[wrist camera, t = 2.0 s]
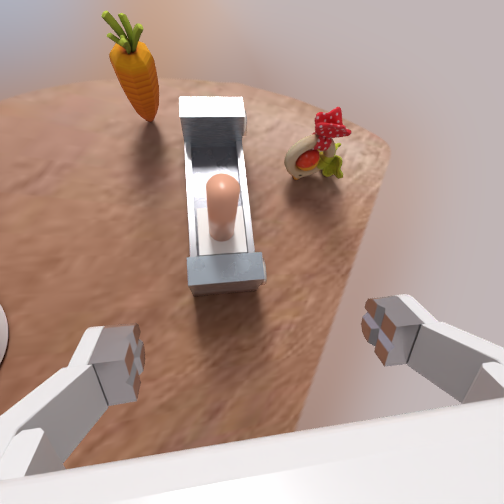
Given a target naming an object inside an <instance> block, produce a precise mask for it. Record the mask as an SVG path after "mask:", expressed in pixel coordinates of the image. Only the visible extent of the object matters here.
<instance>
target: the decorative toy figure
mask: <svg viewBox="0 0 504 504" xmlns="http://www.w3.org/2000/svg"><path fill="white" fill-rule="evenodd" d="M315 125H316V126H315V132H314V133H313V134H312V135H309V136H307V137H305V138H303V139H301V140H300V141H298V142H297V143H295V144H294V145H293V146H292V147H291V148H290V149H289V151H288V152H287V154H286V156H285V161H284V163H285V167H286V169H287V171H288V172H289V174H291V175H292V176H293V178H294V179H295V180H297V179H299V178H301V177H305V176H309V175H312V174H314V173H316V172H318V171H320V170H322V169H323V170H322V173H323V175H324V176H326V177H329V176H331V175H333V174H334V175H335V176H336V177H337V178H338V179H339V178H343V173H342V171H341V169H340V168H341V166H342V158H341V157H339V156H336V155H335V153H336V150H337V148H338V147H340V146H341V143H337V144H335V143H334V141H333V139H332V138H335V137H343V136H349V135H350V134H351V130H349V129H346V127H345V126H344V125H343V124H342V113H341V108H340V107H337V108H335V109H333V110H332V111H330V112H329V113H323V112H319V113H317V114H316V117H315Z"/></svg>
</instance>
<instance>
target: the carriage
mask: <svg viewBox="0 0 504 504" xmlns="http://www.w3.org/2000/svg"><path fill="white" fill-rule="evenodd" d="M239 194H240V185H239V183H238V181H237V180H236V179H235V178H234V177H233V176H231V175H229V174H225V173H219V174H216V175H213V176H212V177H211V178H210V179H209V180H208V181H207V184H206V198H207V208H197V222H198V239H199V255H200V256H214V255H228V254H241V253H247V246H246V237H245V227H244V218H243V209H242V206H238V201H239Z"/></svg>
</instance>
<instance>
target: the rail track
mask: <svg viewBox="0 0 504 504" xmlns="http://www.w3.org/2000/svg"><path fill="white" fill-rule="evenodd" d="M179 104H180V119H181V125H182V131H183V137H184V145H185V164H186V184H187V203H188V222H189V242H190V257H187V270H188V286H189V288H190V290H191V292H192V294H193V296H203V295H214V294H225V293H236V292H247V291H256V290H257V289H258V287H259V286H260V285H265V284H266V266H265V261H264V259H263V258H262V252H255V250H254V241H253V233H252V224H251V216H250V207H249V199H248V190H247V182H246V173H245V165H244V156H243V148H242V136H246V133H247V116H246V111H245V110H244V106H243V98H242V97H179ZM219 173H225V174H229V175H231V176H233V177H234V178H235V179H236V180H237V181H238V183H239V185H240V194H239V201H238V206H242V209H243V218H244V227H245V237H246V246H247V253H241V254H228V255H214V256H200V255H199V239H198V222H197V208H207V198H206V184H207V181H208V180H209V179H210V178H211V177H212V176H213V175H216V174H219Z"/></svg>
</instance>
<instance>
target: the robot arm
mask: <svg viewBox="0 0 504 504" xmlns="http://www.w3.org/2000/svg"><path fill="white" fill-rule="evenodd" d="M365 309H366V310H367V313H366V314H365V315H364V316H363V318H362V323H361V325H362V332H363V334H364V337H365V339H366V340H367V342H368V343H370V344H372V345H374V346H375V353H376V355H377V356H378V358H379V359H380V360H381V362H382V363H383V365H384V366H392V365H402V364H407V365H408V366H409V367H411V368H412V369H413V370H415V371H416V372H418V373H419V374H421V375H422V376H424V377H425V378H427V379H428V380H429V381H431V382H432V383H434V384H435V385H436V386H438V387H439V388H441V389H442V390H444V391H445V392H446V393H448V394H449V395H451V396H452V397H454V398H455V399H456V400H458V401H459V402H461V404H460V405H454V406H448V407H442V408H436V409H429V410H423V411H418V412H412V413H405V414H399V415H394V416H387V417H382V418H375V419H370V420H364V421H358V422H352V423H346V424H340V425H333V426H328V427H321V428H315V429H309V430H303V431H297V432H291V433H285V434H279V435H273V436H266V437H260V438H254V439H248V440H242V441H236V442H230V443H224V444H218V445H212V446H206V447H200V448H194V449H188V450H182V451H175V452H169V453H163V454H157V455H151V456H145V457H139V458H133V459H127V460H121V461H115V462H109V463H103V464H97V465H91V466H85V467H79V468H73V469H67V470H66V469H65V467H64V465H63V463H64V462H65V460H66V459H67V458H68V457H69V455H70V454H71V453H72V452H73V450H74V449H75V448H76V447H77V446H78V444H79V443H80V442H81V441H82V439H83V438H84V437H85V436H86V434H87V433H88V432H89V431H90V429H91V428H92V427H93V426H94V425H95V423H96V422H97V421H98V420H99V418H100V417H101V416H102V415H103V413H104V412H105V411H106V410H107V409H108V406H110V405H116V404H122V403H128V402H134V401H137V398H138V394H139V389H140V384H141V381H140V377H139V375H140V374H141V373H142V372H143V370H144V365H145V348H144V344H143V342H142V341H141V340H140V339H139V337H140V333H141V331H140V328H139V325H138V324H137V323H132V324H120V325H108V326H99V327H89V328H88V329H87V330H86V331H85V332H84V334H83V336H82V338H81V340H80V343H79V345H78V347H77V349H76V351H75V353H74V355H73V357H72V359H71V361H70V363H69V365H68V367H67V368H62V369H60V370H59V371H58V372H56V373H55V374H54V375H53V376H51V377H50V378H49V379H47V380H46V381H45V382H44V383H42V384H41V385H40V386H38V387H37V388H36V389H35V390H33V391H32V392H31V393H29V394H28V395H27V396H26V397H24V398H23V399H22V400H20V401H19V402H18V403H17V404H15V405H14V406H13V407H11V408H10V409H9V410H8V411H6V412H5V413H4V414H2V415H1V416H0V504H504V348H503V347H500V346H498V345H496V344H493V343H491V342H489V341H487V340H484V339H482V338H480V337H477V336H475V335H473V334H470V333H468V332H466V331H463V330H461V329H459V328H456V327H454V326H452V325H449V324H447V323H445V322H438V321H437V320H436V319H435V318H434V317H433V316H432V315H431V314H430V313H429V312H428V311H427V310H426V309H425V308H423V307H422V306H421V305H420V304H419V303H418V302H417V301H416V300H415V299H414V298H413V297H412V296H410V295H408V294H402V295H395V296H388V297H380V298H371V299H368V300H367V302H366V304H365ZM7 341H8V324H7V319H6V315H5V313H4V310H3V308H2V307H1V305H0V363H1V361H2V359H3V356H4V354H5V350H6V346H7Z"/></svg>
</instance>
